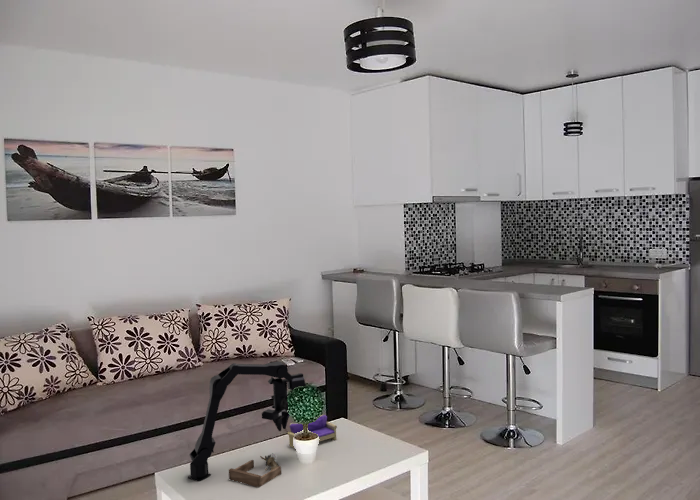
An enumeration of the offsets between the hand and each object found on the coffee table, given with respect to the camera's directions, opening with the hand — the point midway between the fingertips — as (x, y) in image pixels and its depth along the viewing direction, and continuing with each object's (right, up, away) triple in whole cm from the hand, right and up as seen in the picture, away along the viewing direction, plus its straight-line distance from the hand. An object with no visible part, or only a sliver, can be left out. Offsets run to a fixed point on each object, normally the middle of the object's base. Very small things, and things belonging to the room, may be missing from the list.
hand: (282, 429), depth 255 cm
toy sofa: (+12, -12, +20) cm, 26 cm away
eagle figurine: (-4, -14, -8) cm, 16 cm away
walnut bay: (-9, -14, -14) cm, 22 cm away
